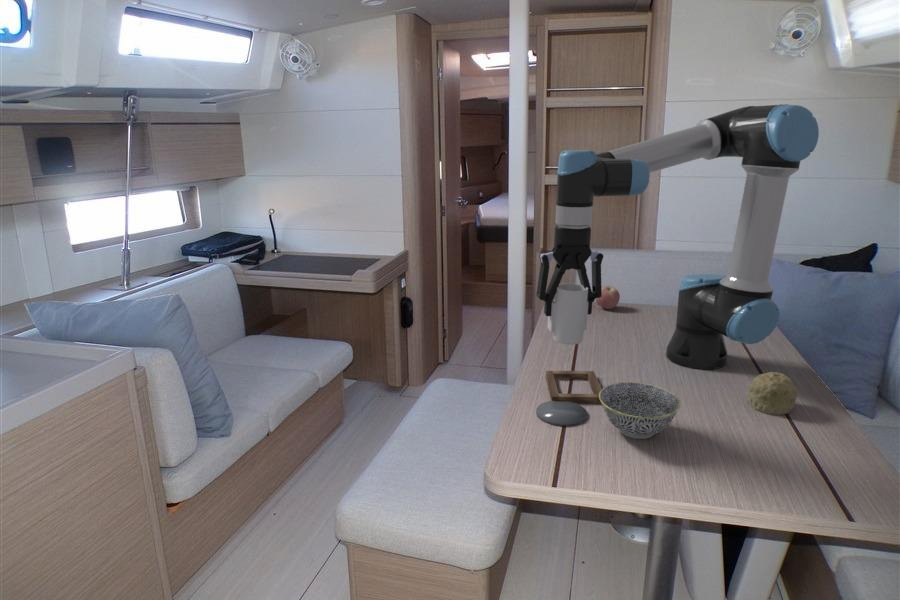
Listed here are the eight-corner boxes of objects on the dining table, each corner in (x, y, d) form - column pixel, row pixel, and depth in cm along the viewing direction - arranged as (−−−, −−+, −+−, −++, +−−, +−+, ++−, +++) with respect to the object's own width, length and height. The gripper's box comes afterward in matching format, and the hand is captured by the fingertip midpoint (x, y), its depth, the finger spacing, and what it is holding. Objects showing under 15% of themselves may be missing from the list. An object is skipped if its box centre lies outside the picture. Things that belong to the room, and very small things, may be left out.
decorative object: (760, 429, 131) (792, 403, 125) (730, 391, 137) (759, 365, 130) (783, 422, 136) (816, 397, 130) (753, 386, 142) (783, 360, 135)
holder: (593, 376, 151) (593, 371, 151) (604, 403, 137) (605, 397, 136) (545, 376, 152) (545, 370, 151) (551, 402, 137) (552, 396, 137)
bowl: (666, 459, 114) (670, 423, 112) (586, 437, 122) (588, 404, 120) (684, 424, 127) (688, 391, 124) (610, 406, 135) (612, 376, 133)
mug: (583, 346, 128) (588, 292, 124) (551, 343, 129) (555, 289, 126) (584, 332, 137) (588, 281, 134) (554, 329, 139) (558, 278, 135)
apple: (595, 311, 202) (596, 289, 200) (594, 305, 209) (595, 283, 207) (619, 312, 201) (621, 289, 199) (617, 306, 208) (619, 283, 206)
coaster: (582, 403, 137) (582, 400, 137) (590, 426, 126) (591, 423, 126) (534, 402, 138) (534, 400, 137) (538, 425, 127) (538, 423, 127)
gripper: (610, 221, 131) (602, 321, 137) (523, 223, 128) (519, 325, 135) (624, 227, 124) (615, 332, 130) (532, 229, 121) (528, 336, 127)
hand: (566, 328), depth 132 cm, fingers closed on mug, 7 cm apart
